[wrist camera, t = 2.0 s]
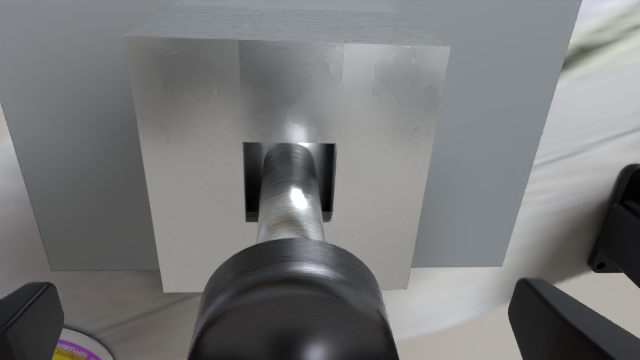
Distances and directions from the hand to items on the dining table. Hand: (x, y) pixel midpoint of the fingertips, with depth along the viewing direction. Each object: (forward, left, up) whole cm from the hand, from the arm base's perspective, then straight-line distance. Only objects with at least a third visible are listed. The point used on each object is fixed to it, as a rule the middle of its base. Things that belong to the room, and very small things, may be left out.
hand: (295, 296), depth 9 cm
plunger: (0, 0, -6) cm, 6 cm away
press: (0, 0, -11) cm, 11 cm away
